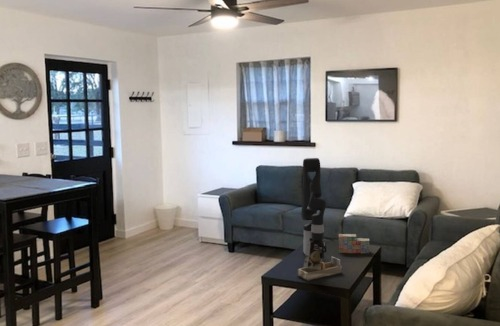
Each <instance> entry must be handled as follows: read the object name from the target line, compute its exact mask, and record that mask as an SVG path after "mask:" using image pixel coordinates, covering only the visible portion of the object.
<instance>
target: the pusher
mask: <svg viewBox="0 0 500 326" xmlns="http://www.w3.org/2000/svg"><path fill="white" fill-rule="evenodd" d="M325 263H326V262H324V261H322V264H321V270H323V269H325ZM316 271H319V270H317V269H316Z"/></svg>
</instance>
